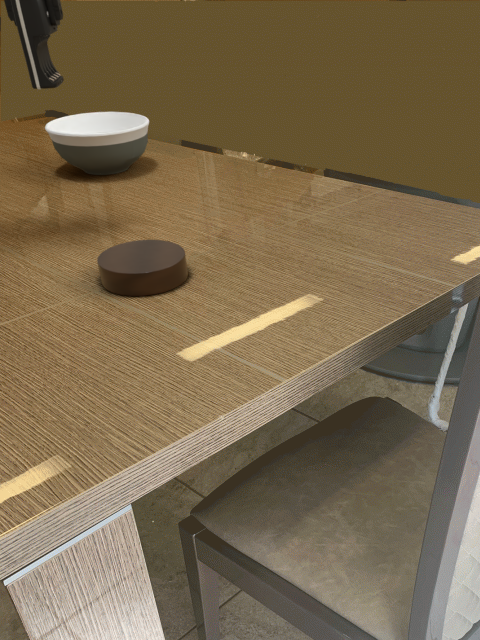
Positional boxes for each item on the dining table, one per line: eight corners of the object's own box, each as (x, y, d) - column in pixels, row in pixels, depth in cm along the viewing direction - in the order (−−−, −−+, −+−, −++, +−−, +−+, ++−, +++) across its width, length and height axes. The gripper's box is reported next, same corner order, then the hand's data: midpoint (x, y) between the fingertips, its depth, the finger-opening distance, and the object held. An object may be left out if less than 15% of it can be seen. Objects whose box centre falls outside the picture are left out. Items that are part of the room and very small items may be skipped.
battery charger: (61, 90, 86) (38, -13, 79) (32, 91, 85) (6, -13, 78) (71, 81, 91) (50, -16, 84) (43, 82, 91) (20, -16, 84)
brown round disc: (93, 297, 79) (88, 274, 77) (111, 261, 88) (106, 240, 86) (183, 294, 80) (180, 272, 78) (191, 259, 88) (189, 238, 87)
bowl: (144, 182, 116) (136, 134, 111) (41, 183, 116) (29, 134, 111) (164, 155, 131) (157, 111, 126) (72, 155, 131) (62, 111, 126)
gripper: (-80, -154, 70) (-28, 29, 81) (52, -154, 71) (87, 27, 81) (-54, -147, 76) (-8, 23, 87) (68, -147, 77) (99, 21, 87)
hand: (38, 24), depth 84 cm, fingers closed on battery charger, 4 cm apart
